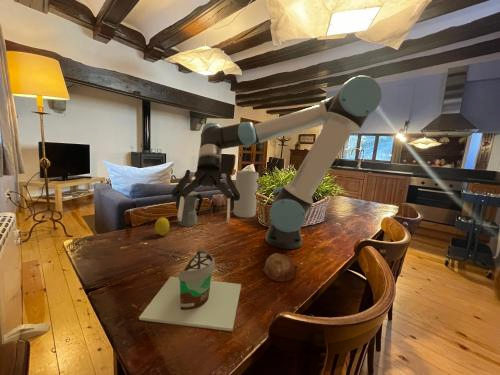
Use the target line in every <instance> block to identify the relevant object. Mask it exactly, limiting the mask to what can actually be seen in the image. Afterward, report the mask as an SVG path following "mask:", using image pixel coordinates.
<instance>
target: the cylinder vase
mask: <svg viewBox="0 0 500 375" xmlns="http://www.w3.org/2000/svg"><path fill="white" fill-rule="evenodd" d="M259 176H260V175H259V172H258V171H252V170H236V175H235V187H236V188H237V190H238V192H239V194H240V199H239V201H237V200H236V201H234V210H233V214H234V216H236V217H237V218H238V217H239V218H244V219H249V218H253V217H255V216H256V214H257V200H258V199H256V195H255V192H256V191H257V192H258V187H259V186H258V185H259V182H258V183H257V182H256V181H257V179H258V180H259Z"/></svg>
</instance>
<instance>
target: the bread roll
mask: <svg viewBox="0 0 500 375" xmlns="http://www.w3.org/2000/svg"><path fill="white" fill-rule="evenodd" d="M297 268H298V265H297V264H296V263H295V260H294V259H293V258H291V257H290V256H288V255H286V254H283V253H279V252H275V253H272V254H271V255H269V256H268V257H267V258H266V259H265V263H264V267H263V272H264V274H265V275H266V276H267V278H269V279H270V280H272V281H276V282H288V281H291V280H293V279H294V278H295V277H296V276H297V273H298V272H297Z"/></svg>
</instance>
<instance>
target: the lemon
mask: <svg viewBox="0 0 500 375" xmlns="http://www.w3.org/2000/svg"><path fill="white" fill-rule="evenodd" d="M154 230H155V232H156V234H158V235H160V236H161V237H162V236H165V235H166V234H167V233H168V232H169V231H170V221H169V219H167V218H166V217H164V216H160V217H159V218H158V219H157V220H156V222H155V224H154Z"/></svg>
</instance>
